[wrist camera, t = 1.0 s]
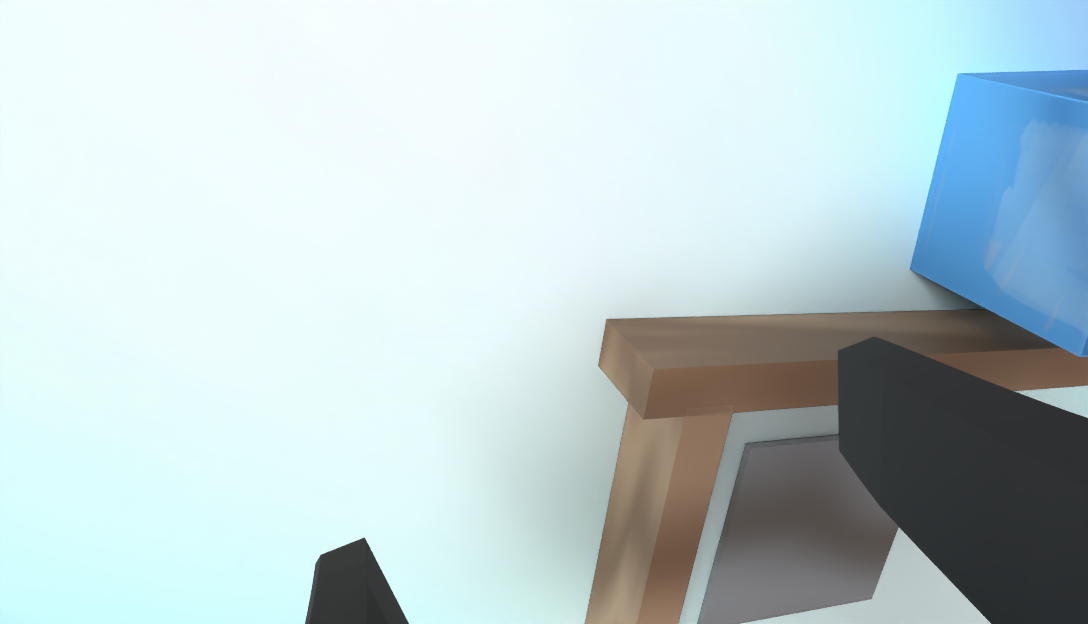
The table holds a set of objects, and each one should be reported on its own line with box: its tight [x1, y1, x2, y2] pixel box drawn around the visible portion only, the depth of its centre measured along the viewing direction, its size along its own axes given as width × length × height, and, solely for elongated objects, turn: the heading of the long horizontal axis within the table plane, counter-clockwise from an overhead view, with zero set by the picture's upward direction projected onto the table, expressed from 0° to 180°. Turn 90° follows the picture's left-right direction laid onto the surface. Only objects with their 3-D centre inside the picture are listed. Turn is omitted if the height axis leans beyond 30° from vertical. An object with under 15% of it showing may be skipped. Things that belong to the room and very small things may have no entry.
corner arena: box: [585, 309, 1088, 624], centre depth 28 cm, size 13×18×3 cm
